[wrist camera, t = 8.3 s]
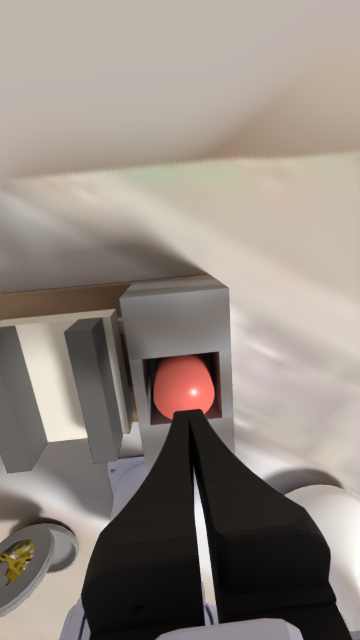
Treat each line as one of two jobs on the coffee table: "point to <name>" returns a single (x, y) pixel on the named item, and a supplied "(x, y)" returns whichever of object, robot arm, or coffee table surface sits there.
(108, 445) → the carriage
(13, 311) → the rail board
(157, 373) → the button
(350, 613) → the flower in vase
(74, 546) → the pocket watch
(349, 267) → the coffee table surface
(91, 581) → the robot arm
